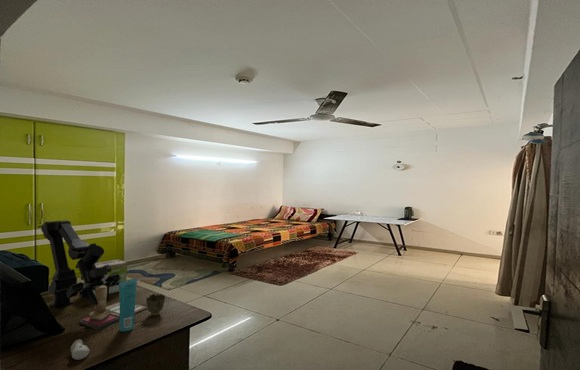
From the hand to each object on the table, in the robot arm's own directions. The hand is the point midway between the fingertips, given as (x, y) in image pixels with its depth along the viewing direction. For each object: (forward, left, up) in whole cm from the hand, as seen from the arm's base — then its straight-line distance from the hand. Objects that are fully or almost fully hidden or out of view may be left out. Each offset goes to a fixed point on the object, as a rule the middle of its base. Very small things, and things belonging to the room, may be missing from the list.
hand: (102, 302), depth 120 cm
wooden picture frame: (-3, +12, -8) cm, 15 cm away
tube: (+13, +1, -8) cm, 15 cm away
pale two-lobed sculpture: (+15, -18, -8) cm, 25 cm away
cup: (+13, +15, -8) cm, 21 cm away
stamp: (-2, 0, -7) cm, 7 cm away
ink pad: (-1, 0, -8) cm, 8 cm away
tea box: (-29, +23, -8) cm, 38 cm away
